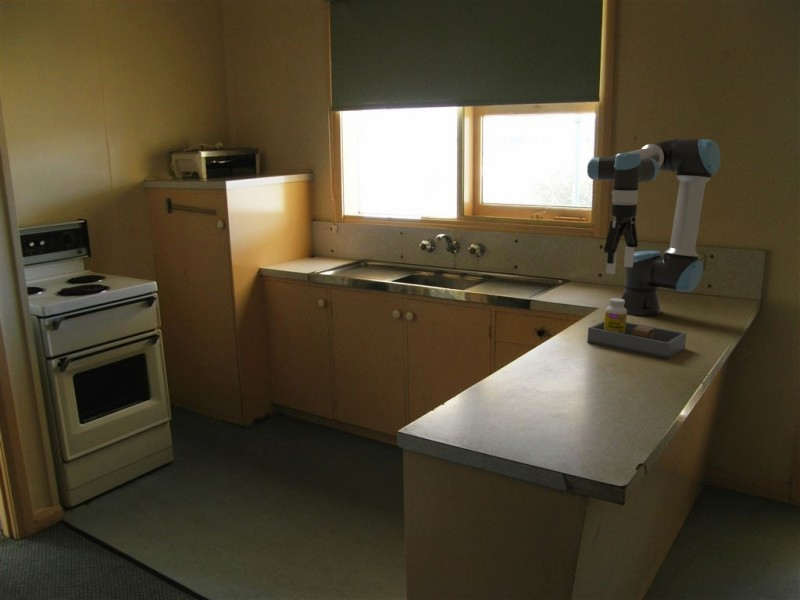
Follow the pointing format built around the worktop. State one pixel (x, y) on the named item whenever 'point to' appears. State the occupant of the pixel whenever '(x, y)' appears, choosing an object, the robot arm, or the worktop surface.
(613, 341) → the tray
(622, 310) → the supplement bottle
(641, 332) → the walnut cube
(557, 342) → the worktop surface
